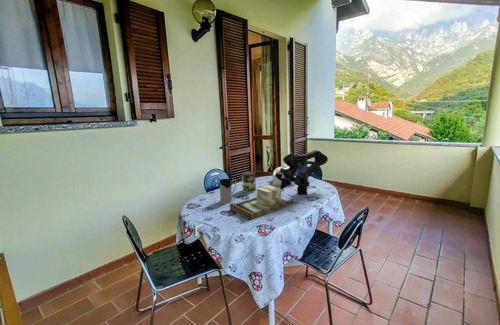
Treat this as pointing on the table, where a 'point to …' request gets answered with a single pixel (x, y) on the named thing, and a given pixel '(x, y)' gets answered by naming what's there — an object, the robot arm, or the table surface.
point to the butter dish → (275, 179)
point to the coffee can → (249, 182)
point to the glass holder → (226, 190)
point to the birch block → (268, 195)
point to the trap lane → (257, 207)
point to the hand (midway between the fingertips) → (280, 189)
